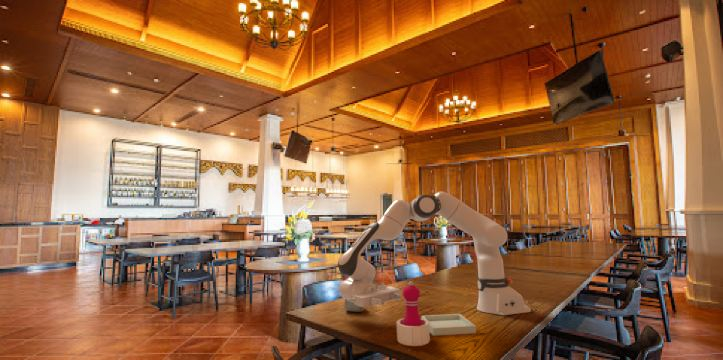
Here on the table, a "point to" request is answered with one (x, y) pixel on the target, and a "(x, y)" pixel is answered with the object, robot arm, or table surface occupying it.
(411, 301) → the pepper mill
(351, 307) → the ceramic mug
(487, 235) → the robot arm
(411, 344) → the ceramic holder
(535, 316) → the table surface
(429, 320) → the sage tray
